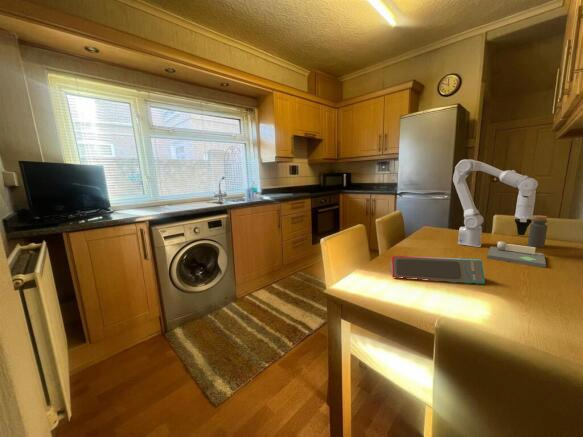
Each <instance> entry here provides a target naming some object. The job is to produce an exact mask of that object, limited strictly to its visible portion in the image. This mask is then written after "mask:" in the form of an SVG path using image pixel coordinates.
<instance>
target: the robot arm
mask: <svg viewBox="0 0 583 437" xmlns="http://www.w3.org/2000/svg"><path fill="white" fill-rule="evenodd" d="M475 171H476V172H478V171H480V172H483V173H486V174H489V175H491V176H494V177H497V178H498V179H499V181H500V182H501V183H504V184H506V185H509V186H511V187H512V188H517V189H518V195H517V200H516V207H515V213H514V217H515V219H514V222H515V225H516V230H517V232H516V233H517V235H518V236H525V234H526V232H527V230H528V228H529V227H530V225H531V224H532V222H533V221H532V219H534V218H536V216H535V215H533V214H534V210H535V202H536V194H537V192H536V191H537V188H538V187H539V186H538V185H539V182H538V180H536V179H535V178H533V177H529V176H528V175H526V174H525V175H524V174H520V173H517V171H516V170H515V169H512V170H510V169H508V170H501V169H499V168H497V167H494V166H493V165H490V164H487V163H485V162H482V161H479V160H474V159H472V158H471V159H470V158H469V159H465V158H464V159H461V160H460V161H459V162H458V163H457V164H456V166H454V173H453V175H452V176H453V177H452V182H453V184H454V187H455V190H456V193H457V195H458V198H459V200H460V203H461V206H462V209H463V217H464V221H463V224H464V226H460V227H459V230H458V237H457V240H458V241H457V245H462V246H469V247H475V248H481V247H482V245H483V243H482V242H481V241H482V232H483V227H482V224H483V223H484V221H485V220H484V219H485V218H484V217H483V215H482V214H480V211H479V209H478V208H477V207H476V205H475V203H474V199H473V197H472V194H471V191H470V189H469V186H468V183H467V178H468V176H470V174H471V173H472V172H475Z"/></svg>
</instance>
